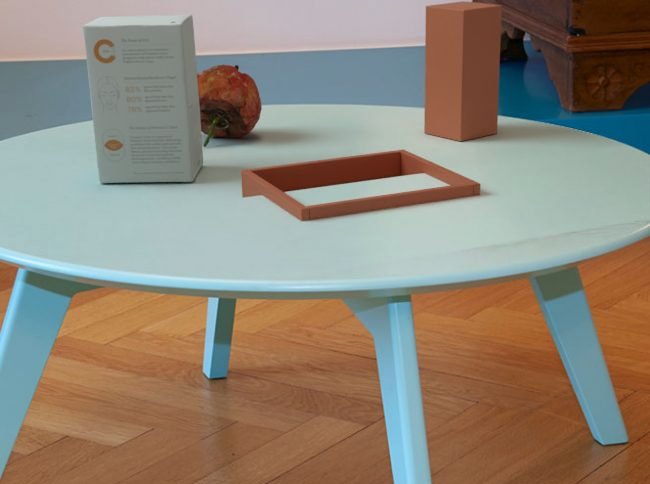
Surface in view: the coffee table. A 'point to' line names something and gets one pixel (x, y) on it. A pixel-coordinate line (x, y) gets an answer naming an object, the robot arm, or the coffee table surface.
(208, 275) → the coffee table surface
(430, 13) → the terracotta block
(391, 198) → the terracotta frame
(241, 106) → the red round fruit
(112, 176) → the small box
